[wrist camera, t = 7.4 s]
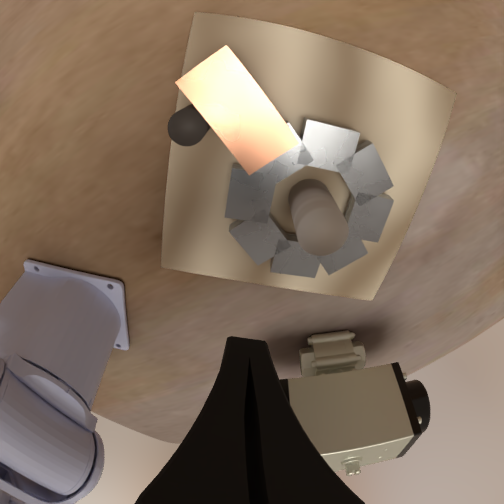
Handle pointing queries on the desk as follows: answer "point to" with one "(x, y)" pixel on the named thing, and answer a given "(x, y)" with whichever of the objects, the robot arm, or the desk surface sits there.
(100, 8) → the desk surface
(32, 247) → the desk surface
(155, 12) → the desk surface
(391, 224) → the board
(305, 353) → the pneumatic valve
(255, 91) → the segmented ring with bar
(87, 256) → the desk surface
